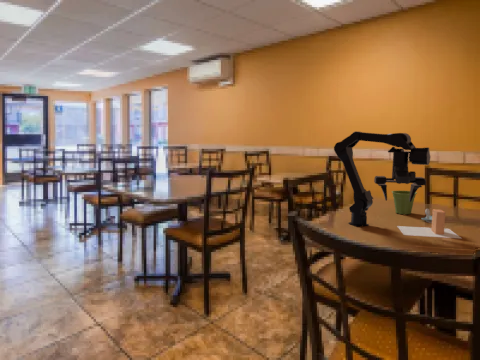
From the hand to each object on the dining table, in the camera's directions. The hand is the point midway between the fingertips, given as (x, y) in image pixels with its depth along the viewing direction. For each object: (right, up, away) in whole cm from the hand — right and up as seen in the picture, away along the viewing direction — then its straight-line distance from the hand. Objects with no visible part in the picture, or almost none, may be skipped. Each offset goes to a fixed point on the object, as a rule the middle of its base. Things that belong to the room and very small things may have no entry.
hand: (398, 201), depth 135 cm
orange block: (+15, -13, -2) cm, 20 cm away
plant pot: (+19, -9, +34) cm, 40 cm away
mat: (+11, -13, -1) cm, 17 cm away
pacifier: (+23, -11, +16) cm, 30 cm away
